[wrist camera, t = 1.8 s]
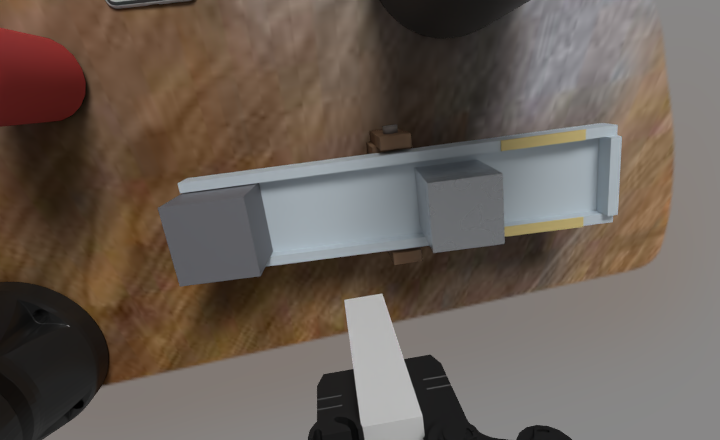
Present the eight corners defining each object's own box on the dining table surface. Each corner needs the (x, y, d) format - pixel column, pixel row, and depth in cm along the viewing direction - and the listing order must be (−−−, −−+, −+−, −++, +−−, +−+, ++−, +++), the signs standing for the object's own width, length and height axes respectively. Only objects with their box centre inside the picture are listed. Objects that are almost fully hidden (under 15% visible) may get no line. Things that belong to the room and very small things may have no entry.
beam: (209, 265, 37) (183, 297, 31) (187, 178, 34) (154, 195, 29) (598, 215, 36) (645, 238, 30) (602, 122, 34) (653, 129, 28)
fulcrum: (379, 246, 41) (390, 272, 35) (364, 125, 38) (373, 130, 32) (411, 241, 41) (427, 266, 35) (399, 120, 38) (415, 124, 32)
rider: (419, 226, 35) (433, 253, 29) (414, 167, 33) (427, 183, 28) (479, 218, 35) (504, 243, 29) (476, 159, 33) (502, 173, 28)
